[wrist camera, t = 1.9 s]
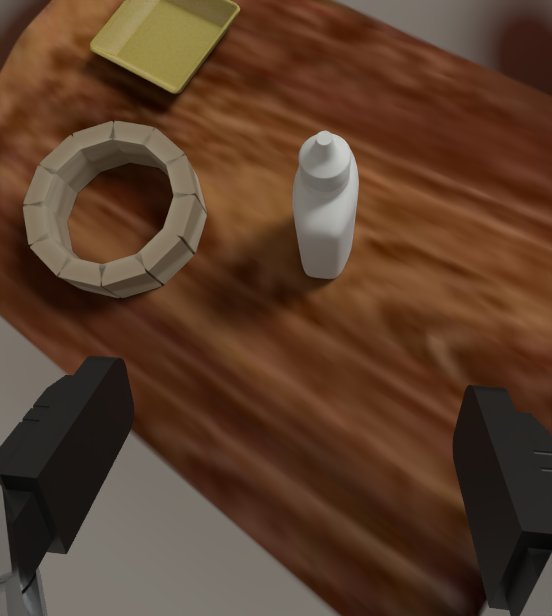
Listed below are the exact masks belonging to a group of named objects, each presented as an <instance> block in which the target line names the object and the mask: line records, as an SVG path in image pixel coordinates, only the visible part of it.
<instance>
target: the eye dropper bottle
mask: <svg viewBox="0 0 552 616" xmlns="http://www.w3.org/2000/svg"><path fill="white" fill-rule="evenodd" d="M298 158H299V167H298V170H297V173H296V176H295V180H294V185H293V197H292V201H293V214H294V221H295V227H296V233H297V239H298V245H299V250H300V256H301V261H302V265H303V269H304V271H305V273H306V274H307V275H308V276H310V277H315V278H324V279H334V278H337V277H338V276H339V275H340V273H341V272H342V270H343V268H344V267H345V265H346V262H347V260H348V257H349V254H350V251H351V246H352V240H353V232H354V224H355V215H356V207H357V198H358V182H359V181H358V171H357V166H356V162H355V159H354V156H353V153H352V152H351V150H350V148H349V145H347V143H346V141H344V139H342V138H341V137H340V136H338V135H335V134H331V133H330V132H328V131H321V132H320V133H318V134H316V135H314V136H312V137H311V138H309V139H308V140H307V141H305V143H303V145H302V147H301V149H300V152H299V157H298Z"/></svg>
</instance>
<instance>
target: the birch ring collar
mask: <svg viewBox="0 0 552 616" xmlns="http://www.w3.org/2000/svg"><path fill="white" fill-rule="evenodd" d="M73 136H74V138H73V137H72V136H71V135H70V136H69V137H68V138H67V139H65V140H64V141H63V142H62V143H61V144H60V145H59V146H58V147H57V148H56V149H55V150H54V151H52V152H51V153H50V154H49V155H48V156H47V157H46V158H45V159H44V160H43V161H42V162H40V164H41V165H42V166H43V167H42V166H38V167H37V169H36V172H35V175H34V177H33V180H32V182H31V185H30V187H29V190H28V192H27V195H26V198H25V200H24V203H23V204H24V205H26V206H23V211H24V218H25V224H26V231H27V237H28V244H29V245H30V246H31V247H30V248H31V249H32V250H33V251H34V252H35V253H36V254H37V255H38V257H39V258H40V259H41V260H42V261H43V262H44V263H45V264H46V265H47V266H48V267H49V268H50V269H51V270H52V272H53V273H54V274H55V275H56V276H58V277H60V278H62V279H63V280H65V281H67V282H69V283H71V284H73V285H74V286H76V287H78V288H80V289H82V290H85V291H90V292H94V293H98V294H102V295H107V296H111V297H115V298H120V297H121V298H125V297H129V296H132V295H135V294H138V293H142V292H145V291H148V290H152V289H155V288H158V287H161V286H162V285H161V282H162V283H163V284H164V285H165V284H166V283H167V282H168V281H169V280H170V279H171V278H172V277H173V276H174V275H175V274H176V273H177V272H178V271H179V270H180V269H181V268H182V267H183V266H184V265H185V264H186V263H187V262H188V261H189V260H190V259H191V258H192V257H193V256H194V255H193V254H192V252H193V253H196V250H197V247H198V243H199V240H200V237H201V233H202V230H203V227H204V224H205V220H206V217H207V215H206V213H207V211H206V207H205V203H204V199H203V196H202V192H201V188H200V184H199V181H198V177H197V175H196V174H195V172H194V170H193V168H192V166H191V164H190V162H189V161H188V159H187V157H186V155H185V153H184V152H183V151H181V150H180V149H179V148H178V147H177V146H176V145H175V144H174V143H172V142H171V141H170V140H169V139H168V138H167V137H166V136H164V135H163V134H162V133H161V132H160V131H159V130H158V129H154V127H150V126H144V125H138V124H132V123H126V122H120V121H115V122H114V123H113V121H110V122H107V123H104V124H101V125H98V126H95V127H91V128H88V129H85V130H82V131H79V132H76V133H73ZM127 163H135V164H140V165H146V166H151V167H157V168H160V169H161V170H162V171H163V172H164V173H165V174H166V175H167V176H169V178H170V182H171V186H172V190H173V194H174V197H173V200H172V203H171V206H170V209H169V212H168V215H167V218H166V222H165V225H164V228H163V229H162V230H161V231H160V232H159V233H158V234H157V235H156V236H155V237H154V238H153V239H152V240H151V241H150V242H149V243H148V244H147V245H146V246H145V247H144V248H143V249H142V250H141V251H140V252H138V253H137V254H135V255H132V256H129V257H125V258H122V259H119V260H116V261H112V262H109V263H106V264H103V265H102V264H98V263H93V262H89V261H84V260H80V259H79V258H78V256H77V255H76V254H75V253H74V252H73V251H72V248H71V242H70V236H69V231H68V225H67V221H68V218H69V215H70V213H71V210H72V207H73V205H74V202H75V199H76V196H77V194H78V193H79V192H80V191H81V190H82V189H83V188H84V187H85V186H86V185H87V184H88V183H89V182H90V181H91V180H92V179H94V178H95V177H96V176H97V175H98V174H99V173H100V172H102V171H105V170H108V169H111V168H115V167H118V166H121V165H124V164H127Z"/></svg>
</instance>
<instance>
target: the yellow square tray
mask: <svg viewBox="0 0 552 616" xmlns="http://www.w3.org/2000/svg"><path fill="white" fill-rule="evenodd" d="M239 11H240V8H239V6H238V5H237V4H236V3H234V2H232V1H230V0H125V1H124V2H123V3H122V5H121V6H120V7H119V9H118V10H117V11H116V12H115V14H114V15H113V16H112V17H111V18H110V20H109V21H108V22H107V23H106V25H105V26H104V27H103V28H102V29H101V31H100V32H99V33H98V34H97V35H96V36H95V38H94V39H93V40H92V42H91V43H90V50H91V51H92V52H94V53H96V54H98V55H100V56H102V57H104V58H106V59H108V60H110V61H112V62H113V63H115V64H117V65H119V66H121V67H123V68H125V69H127V70H129V71H131V72H133V73H134V74H136V75H138V76H140V77H142V78H144V79H146V80H148V81H150V82H152V83H154V84H155V85H157V86H159V87H161V88H163V89H165V90H167V91H169V92H171V93H173V94H179V93H181V92H182V91H183V89H184V88H185V87H186V85H187V84H188V83H189V81H190V80H191V79H192V77H193V76H194V75H195V73H196V72H197V71H198V69H199V68H200V67H201V65H202V64H203V63H204V61H205V60H206V59H207V57H208V56H209V55H210V53H211V52H212V51H213V49H214V48H215V47H216V45H217V44H218V43H219V41H220V40H221V39H222V37H223V36H224V35H225V33H226V32H227V31H228V29H229V28H230V27H231V25H232V24H233V22H234V21H235V19H236V17H237V15H238V13H239Z"/></svg>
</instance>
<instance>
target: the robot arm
mask: <svg viewBox="0 0 552 616" xmlns="http://www.w3.org/2000/svg"><path fill="white" fill-rule="evenodd" d="M133 419H134V403H133V398H132V393H131V389H130V384H129V379H128V374H127V370H126V365H125V362H124V360H123V359H122V358H116V357H103V356H89V357H87V358H86V359H85V361H84V362H83V363H82V365H81V366H80V367H79V369H78V370H77V371H76V373H75V374H74V375H73V376H72V375H65V376H64V377H62V378H61V379H59V380H58V381H57V382H55V383H54V384H52V385H51V386H49V387H48V388H47V389H46V390H45V391H44V392H43V394H42V395H41V396H40V397H39V399H38V400H37V401H36V402H35V404H34V405H33V408H31V409H30V410H29V411H28V412H27V414H26V415H25V416H24V418H23V421H22V422H19V424H18V425H17V426H16V428H15V429H14V430H13V431H12V433H11V434H10V435H9V436H8V438H7V439H6V440H5V442H4V443H3V444H2V445H1V446H0V616H47V610H46V604H45V599H44V592H43V587H42V580H41V575H40V571H39V568H38V566H39V565H40V563H41V561H42V559H43V557H44V555H45V554H46V552H51V553H60V554H67V552H68V551H69V548H70V547H71V545H72V543H73V541H74V539H75V537H76V535H77V533H78V531H79V529H80V527H81V525H82V523H83V521H84V519H85V518H86V516H87V514H88V512H89V510H90V508H91V506H92V504H93V502H94V500H95V498H96V496H97V494H98V492H99V490H100V488H101V486H102V484H103V483H104V481H105V479H106V477H107V475H108V473H109V471H110V469H111V467H112V465H113V463H114V461H115V459H116V457H117V455H118V453H119V451H120V450H121V448H122V445H123V444H124V442H125V440H126V438H127V436H128V434H129V432H130V430H131V427H132V424H133ZM453 459H454V464H455V468H456V472H457V476H458V481H459V485H460V489H461V493H462V497H463V501H464V505H465V510H466V514H467V518H468V522H469V526H470V530H471V534H472V539H473V543H474V547H475V551H476V555H477V559H478V563H479V567H480V572H481V576H482V580H483V584H484V588H485V592H486V596H487V601H488V605H489V608H496V609H505V610H509V611H510V615H511V616H552V437H551V435H550V433H549V431H548V430H547V429H546V428H545V427H544V426H543V425H542V424H541V423H540V422H539V421H538V420H537V419H536V418H535V417H534V416H533V415H532V414H531V413H522V412H516V410H515V407H514V405H513V403H512V400H511V398H510V396H509V393H508V391H507V390H506V389H505V388H503V387H489V386H476V385H469V386H467V388H466V390H465V393H464V397H463V401H462V405H461V408H460V412H459V416H458V420H457V424H456V427H455V431H454V436H453Z"/></svg>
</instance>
